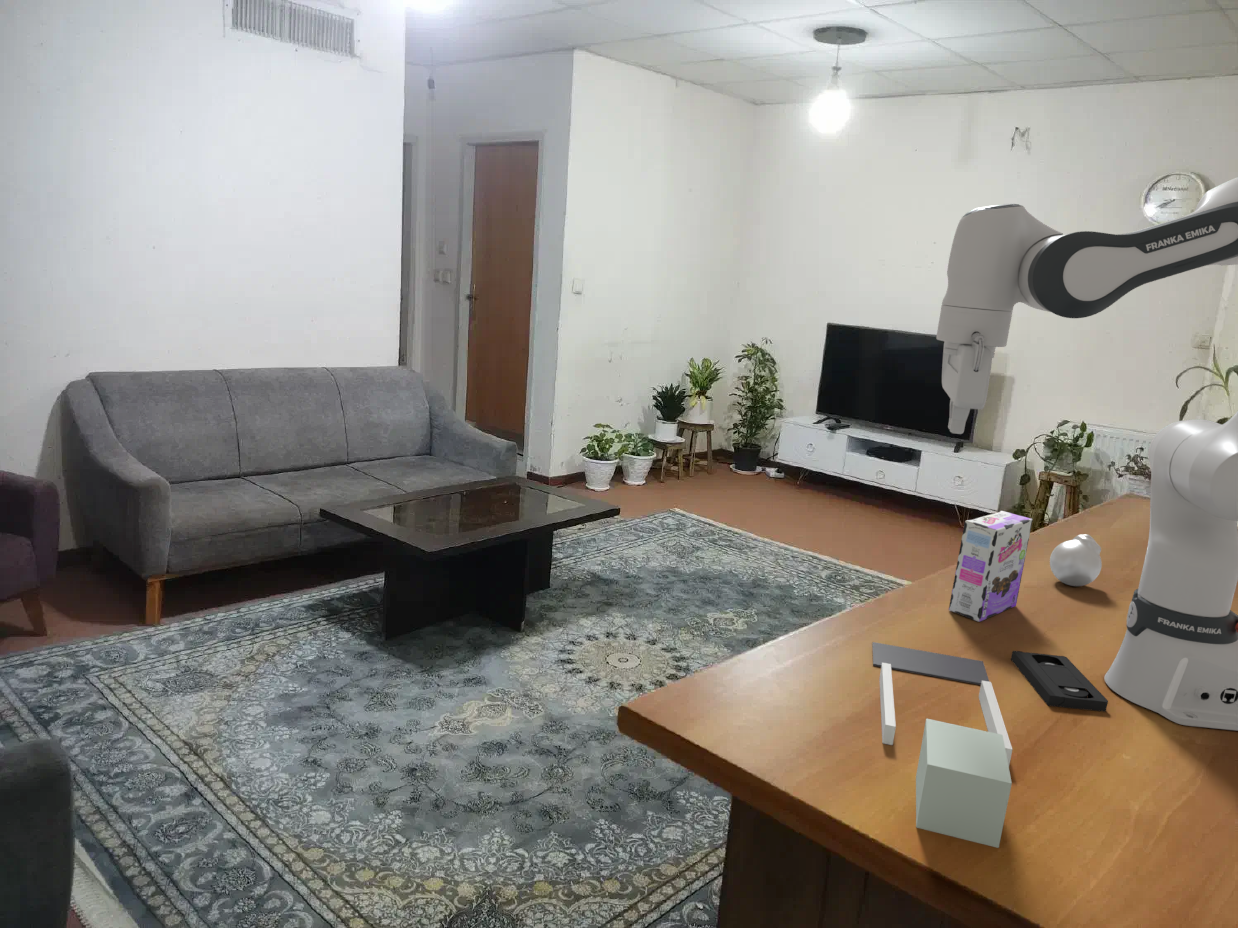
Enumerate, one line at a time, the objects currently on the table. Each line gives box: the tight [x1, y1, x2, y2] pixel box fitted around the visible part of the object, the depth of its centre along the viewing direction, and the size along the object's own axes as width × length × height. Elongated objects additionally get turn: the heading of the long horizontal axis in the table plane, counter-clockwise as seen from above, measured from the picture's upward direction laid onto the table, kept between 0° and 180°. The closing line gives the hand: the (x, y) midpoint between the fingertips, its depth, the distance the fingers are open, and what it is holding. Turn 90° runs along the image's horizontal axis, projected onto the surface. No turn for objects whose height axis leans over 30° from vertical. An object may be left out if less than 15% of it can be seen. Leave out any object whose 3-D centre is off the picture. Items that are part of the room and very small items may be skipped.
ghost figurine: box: [1049, 533, 1103, 587], centre depth 170 cm, size 9×10×10 cm
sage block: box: [915, 718, 1013, 849], centre depth 95 cm, size 8×10×8 cm
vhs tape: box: [1010, 650, 1109, 713], centre depth 128 cm, size 14×8×2 cm, turn 176°
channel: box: [871, 641, 1013, 767], centre depth 120 cm, size 16×30×2 cm, turn 165°
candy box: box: [948, 510, 1033, 622], centre depth 153 cm, size 14×6×16 cm, turn 131°
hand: (955, 432), depth 121 cm, fingers closed
